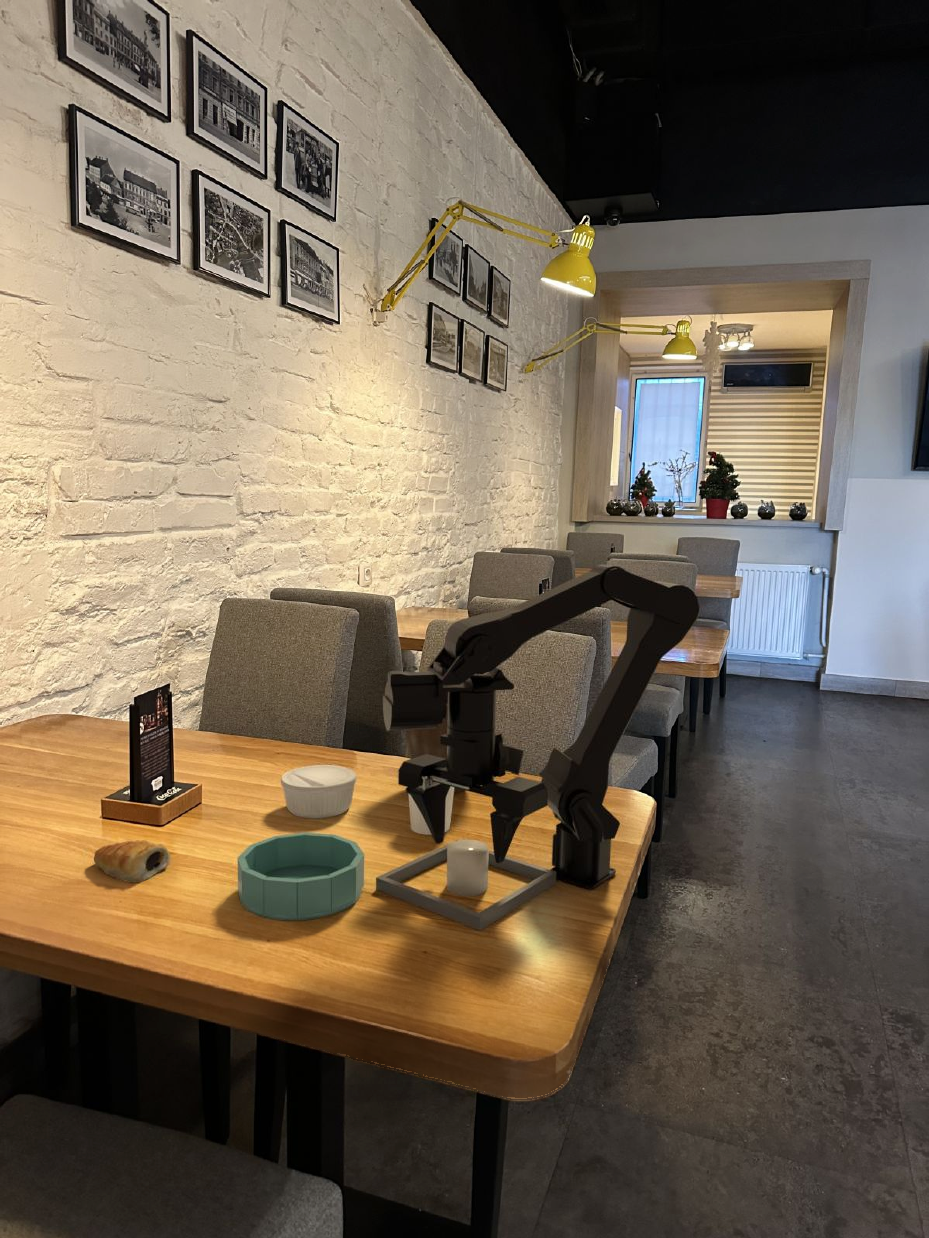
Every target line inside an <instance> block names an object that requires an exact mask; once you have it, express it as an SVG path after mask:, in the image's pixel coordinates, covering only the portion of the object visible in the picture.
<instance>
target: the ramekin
mask: <svg viewBox="0 0 929 1238" xmlns="http://www.w3.org/2000/svg"><path fill="white" fill-rule="evenodd" d="M356 782H357V773H356V771H354V770H352V769H350V768H348V767H344V766H340V765H332V764H318V765H306V766H302V767H301V766H300V767H295V768H293V769H290V770H288V771H287V772H284V773H283V775H282V776H281V777H280V785H281V787H282V789H283V794H284V799H285V800H284V801H285V804H286V808H287V809H288V811H290V813H291V814H293V815H295V816H296V817H300V818H304V819H305V818H306V819H325V818H326V819H327V818H332V817H335V816H339V815H341V814H344V813H345V812H347V810H348V809H349V808H350V807H351V805H352V801H353V794H354V790H355V784H356Z"/></svg>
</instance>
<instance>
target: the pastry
mask: <svg viewBox="0 0 929 1238" xmlns="http://www.w3.org/2000/svg"><path fill="white" fill-rule="evenodd" d="M171 859H172V858H171V852H170V851H169V849H168V848H167V846H165V845H164V844H162V843H160V844H156V843H154V842H150V841H148V840H145V839H143V840H135V841H134V840H126V841H124V842H120V843H119V842H117V843H114V844H109V845H104V846H102V847H100V848H98V849H97V850H95V852H94V855H93V861H94V864H96V865H97V867H98V868H99V869H101V870H102V871H103V872H105V874H106V876H108V877H113V878H116V879H119V880H122V881H126V882H128V883H130V882H131V883H140V882H143V881H146V880H148V879H150V878H152V877H153V876H154V875H156V874H157V873H159V872H161V871H162V870H165V869H166V868H167V867H169V866H170V863H171Z"/></svg>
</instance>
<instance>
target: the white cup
mask: <svg viewBox="0 0 929 1238" xmlns="http://www.w3.org/2000/svg"><path fill="white" fill-rule="evenodd" d="M454 794H455V793H454V787H450V789H449V791H448V794H447V796H446V804H445V833H447V832H449V830H450V827H451V819H452V813H453V812H452V811H453V802H454ZM407 795H408V804H409V819H410V820H409V821H410V830H411V831H413V832H414V833H417V834H419V835H426V836H430V835H431V836H432V834H431V832H430V830H429V828H428V826H427V824H426V822H425V820H424V818H423V816H422V814H421V812H420V810H419V809H418V807H417V805H416V803H415V802H414V800H413V798H412V796H411V795H410V794H408V793H407Z"/></svg>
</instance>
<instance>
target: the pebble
mask: <svg viewBox="0 0 929 1238" xmlns="http://www.w3.org/2000/svg"><path fill="white" fill-rule="evenodd" d="M448 844H449V843H448ZM489 850H490V848H489V846H488V844H487V843H485V842H483V841H480V840H476V839H459V840H458V841H456V840H455V841H451V842H450V844H449V845H448V846H447V860H446V890H447V891H449V892H450V893H452V894H454V895H458V896H462V897H474V896H479V895H482V894H485V893H486V892H487V890H488V888H489V885H488V884H489V864H488V858H489Z"/></svg>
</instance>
